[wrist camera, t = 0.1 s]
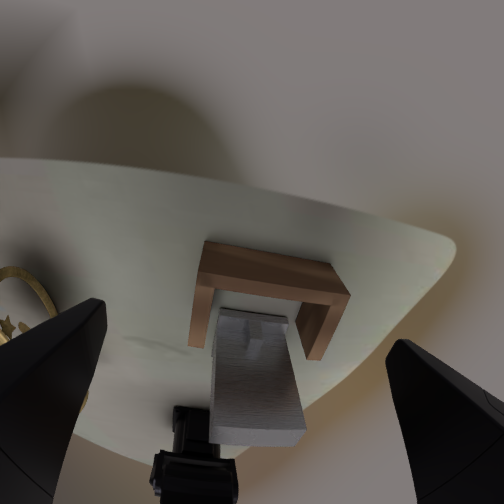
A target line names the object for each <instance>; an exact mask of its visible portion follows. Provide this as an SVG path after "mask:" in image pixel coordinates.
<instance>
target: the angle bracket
mask: <svg viewBox="0 0 504 504" xmlns="http://www.w3.org/2000/svg"><path fill="white" fill-rule="evenodd" d="M288 325H289V324H288V320H287V318H285V317H277V316H269V315H262V314H255V313H248V312H241V311H234V310H228V309H221V308H220V311H219V316H218V321H217V326H216V331H215V336H214V341H213V347H212V356H211V357H213V361H212V379H211V401H210V426H209V443H215V444H226V445H241V446H270V447H271V446H272V447H275V446H276V447H279V446H280V447H281V446H282V447H283V446H284V447H287V446H295V445H296V444H297V442H298V441H299V440H300V438H301V437H302V435H303V434H304V433H305V431H306V430H307V429H306V424H305V420H304V415H303V411H302V406H301V402H300V398H299V393H298V389H297V385H296V381H295V376H294V372H293V368H292V364H291V359H290V355H289V351H288V347H287V343H286V339H285V333H286V331H287V328H288Z"/></svg>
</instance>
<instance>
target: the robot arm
mask: <svg viewBox="0 0 504 504" xmlns="http://www.w3.org/2000/svg"><path fill="white" fill-rule="evenodd" d="M106 332H107V314H106V304H105V302H104V301H103V300H100V299H96V298H90V299H88V300H86V301H84V302H82V303H80V304H78V305H76V306H74V307H72V308H70V309H68V310H66V311H64V312H62V313H60V314H58V315H56V316H55V317H53V318H51V319H49V320H47V321H45V322H43V323H41V324H39V325H37V326H36V327H34V328H32V329H30V330H28V331H26V332H24V333H22V334H21V335H19V336H17V337H15V338H13V339H11V340H10V341H8V342H6V343H4V344H2V345H0V504H52V503H53V497H54V494H55V490H56V486H57V482H58V479H59V475H60V471H61V468H62V464H63V461H64V457H65V454H66V451H67V447H68V445H69V441H70V439H71V435H72V433H73V430H74V427H75V424H76V421H77V418H78V415H79V413H80V410H81V407H82V404H83V402H84V399H85V396H86V394H87V391H88V389H89V386H90V384H91V381H92V378H93V376H94V372H95V369H96V365H97V362H98V358H99V355H100V351H101V348H102V345H103V341H104V338H105V335H106ZM385 364H386V369H387V373H388V378H389V383H390V388H391V393H392V398H393V402H394V406H395V410H396V413H397V417H398V420H399V424H400V427H401V431H402V435H403V439H404V443H405V447H406V451H407V455H408V459H409V464H410V468H411V472H412V477H413V481H414V487H415V492H416V497H417V500H418V501H417V504H504V402H502V401H500V400H499V399H497V398H496V397H494V396H492V395H491V394H490V393H488V392H487V391H485V390H483V389H482V388H481V387H479V386H478V385H476V384H475V383H473V382H472V381H470V380H469V379H467V378H466V377H464V376H463V375H461V374H460V373H459V372H457V371H455V370H454V369H453V368H451V367H450V366H448V365H447V364H445V363H443V362H442V361H441V360H439V359H438V358H436V357H435V356H433V355H431V354H430V353H428V352H427V351H425V350H424V349H422V348H421V347H419V346H418V345H416V344H415V343H413V342H412V341H410V340H408V339H398V340H397V341H396V342H395V343H394V345H393V347H392V348H391V350H390V352H389V353H388V355H387V357H386V360H385ZM209 426H210V411H204V410H197V409H190V408H183V407H174V410H173V432H174V433H175V434H174V442H173V451H172V452H168V451H165V450H161V449H160V453H159V454H155V457H154V463H153V468H152V472H151V476H150V480H149V483H150V484H151V485H152V486H153V490H155V496H158V497H160V504H236V503H237V500H238V480H237V473H236V466H235V459H231V458H230V459H222V458H220V444H215V443H209Z"/></svg>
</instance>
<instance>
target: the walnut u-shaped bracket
mask: <svg viewBox="0 0 504 504" xmlns="http://www.w3.org/2000/svg"><path fill="white" fill-rule="evenodd" d="M215 288H216V289H222V290H228V291H234V292H240V293H246V294H253V295H259V296H266V297H273V298H279V299H286V300H294V301H301V302H303V303H302V305H301V308H300V311H299V314H298V316H297V319H296V322H295V323H296V326H297V329H298V332H299V336H300V339H301V342H302V346H303V349H304V352H305V356H306V359H307V360H319V361H321V359H322V357H323V355H324V353H325V351H326V349H327V346H328V344H329V342H330V340H331V338H332V336H333V334H334V332H335V330H336V328H337V326H338V323H339V321H340V319H341V317H342V315H343V312H344V310H345V308H346V306H347V303H348V301H349V299H350V296H351V295H350V293H349V292H348V290H347V289H346V287H345V285H344V284H343V282H342V281H341V279H340V278H339V276H338V275H337V273H336V272H335V270H334V269H333V267H332V266H331V264H330V263H324V262H319V261H313V260H308V259H302V258H297V257H291V256H286V255H280V254H275V253H269V252H264V251H258V250H253V249H247V248H242V247H236V246H230V245H225V244H219V243H214V242H208V241H205V242H204V246H203V251H202V255H201V260H200V264H199V269H198V274H197V281H196V287H195V294H194V301H193V308H192V316H191V323H190V331H189V339H188V346H191V347H197V348H204V345H205V339H206V333H207V327H208V322H209V316H210V310H211V305H212V299H213V294H214V289H215Z"/></svg>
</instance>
